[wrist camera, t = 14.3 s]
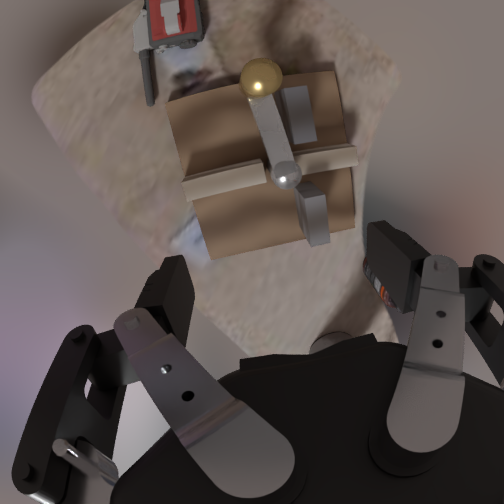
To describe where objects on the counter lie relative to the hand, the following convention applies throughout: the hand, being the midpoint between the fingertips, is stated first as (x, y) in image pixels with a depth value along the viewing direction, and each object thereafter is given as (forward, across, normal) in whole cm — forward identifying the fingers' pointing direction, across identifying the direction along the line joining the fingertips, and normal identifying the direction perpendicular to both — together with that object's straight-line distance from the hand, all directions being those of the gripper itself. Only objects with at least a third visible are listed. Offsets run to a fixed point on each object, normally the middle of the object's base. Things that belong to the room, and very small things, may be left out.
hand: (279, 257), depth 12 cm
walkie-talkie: (+26, +7, -20) cm, 33 cm away
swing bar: (+19, -2, -4) cm, 20 cm away
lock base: (+26, -3, 0) cm, 26 cm away
